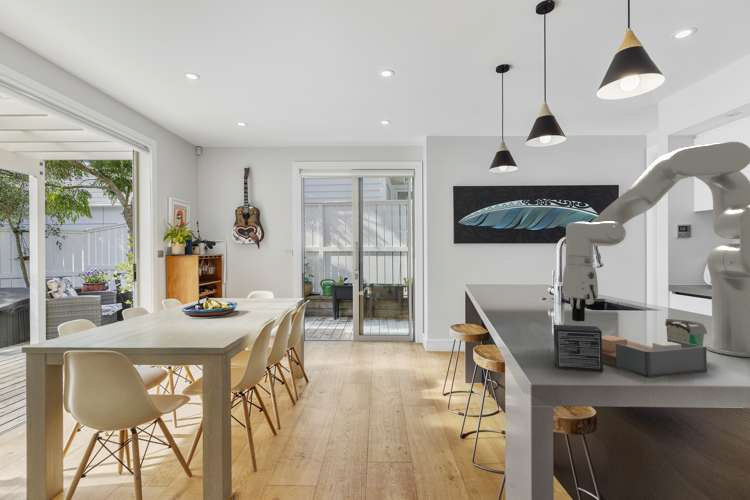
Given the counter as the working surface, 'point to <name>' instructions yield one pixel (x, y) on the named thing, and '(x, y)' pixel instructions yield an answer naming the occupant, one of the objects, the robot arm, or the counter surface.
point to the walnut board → (611, 356)
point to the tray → (662, 360)
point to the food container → (685, 331)
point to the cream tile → (665, 346)
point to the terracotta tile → (612, 342)
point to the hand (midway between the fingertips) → (578, 320)
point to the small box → (578, 348)
